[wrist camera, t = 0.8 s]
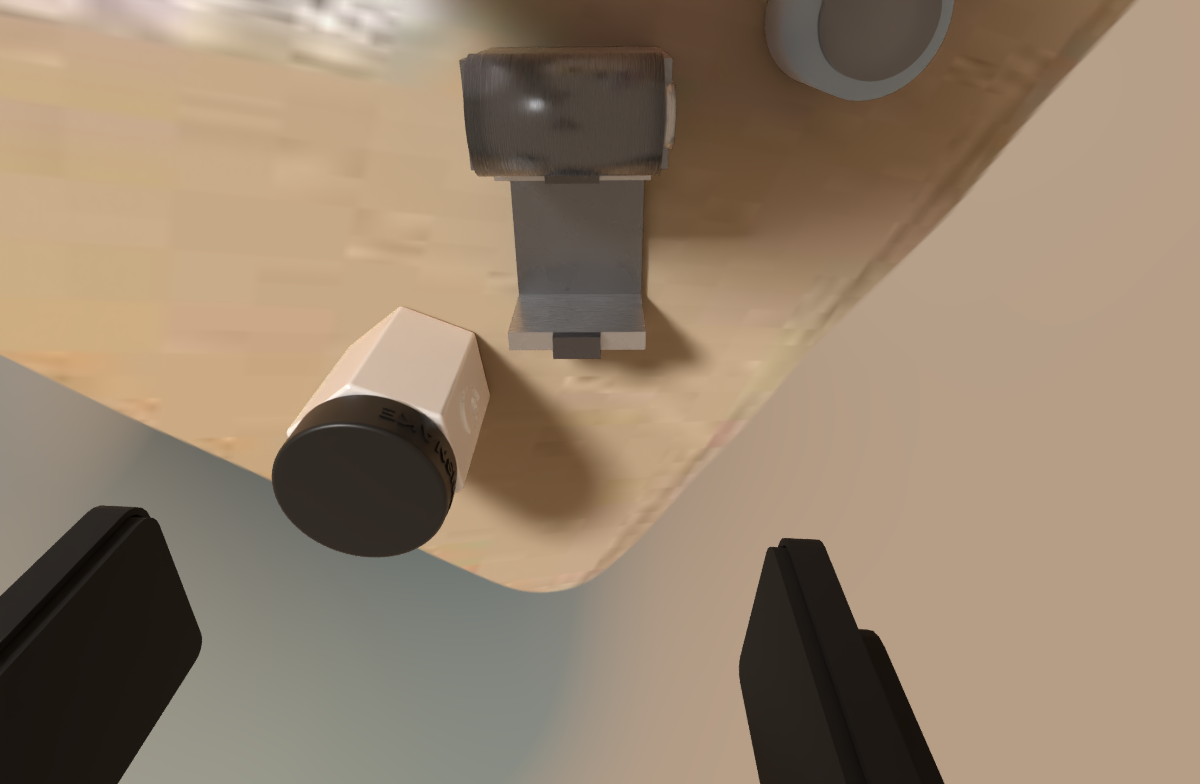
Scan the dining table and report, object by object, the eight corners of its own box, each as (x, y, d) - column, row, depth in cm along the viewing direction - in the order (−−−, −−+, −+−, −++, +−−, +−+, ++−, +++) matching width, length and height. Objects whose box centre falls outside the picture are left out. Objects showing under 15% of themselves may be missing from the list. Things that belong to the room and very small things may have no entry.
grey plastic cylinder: (773, -62, 29) (816, -79, 23) (908, -64, 29) (985, -81, 23) (757, 85, 32) (791, 104, 26) (879, 84, 32) (940, 102, 26)
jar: (501, 423, 42) (468, 558, 32) (380, 436, 43) (309, 572, 33) (470, 296, 38) (420, 406, 27) (335, 312, 38) (237, 425, 28)
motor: (650, 314, 38) (663, 406, 30) (513, 315, 38) (486, 406, 30) (659, 42, 31) (682, 56, 22) (490, 43, 31) (446, 58, 22)
